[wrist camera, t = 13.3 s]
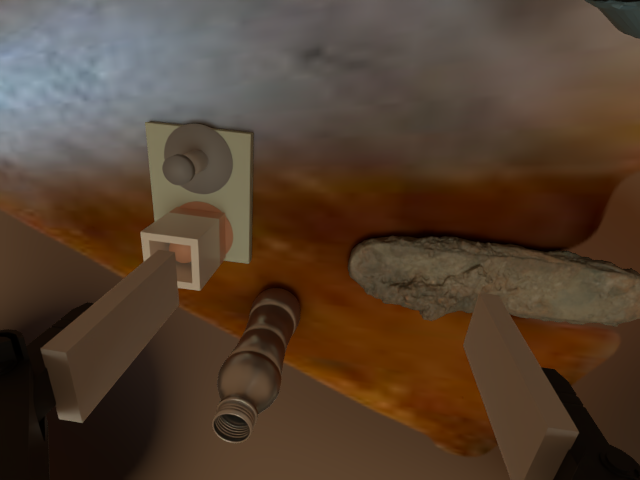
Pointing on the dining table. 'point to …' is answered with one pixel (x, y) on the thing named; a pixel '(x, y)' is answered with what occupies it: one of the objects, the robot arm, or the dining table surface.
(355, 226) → the dining table surface
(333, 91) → the dining table surface
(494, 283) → the elongated rock
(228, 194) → the board with round knobs
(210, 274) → the sleeve
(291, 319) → the plastic bottle
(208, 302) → the dining table surface
